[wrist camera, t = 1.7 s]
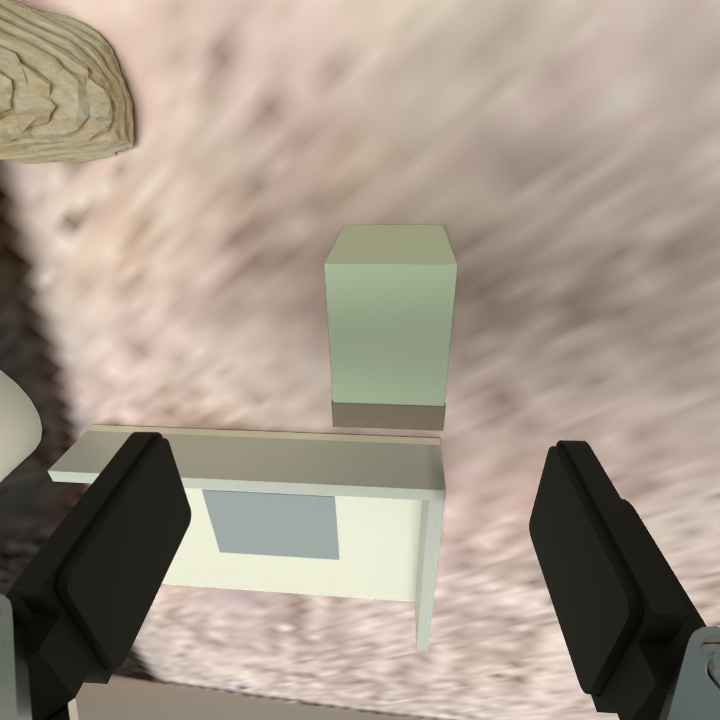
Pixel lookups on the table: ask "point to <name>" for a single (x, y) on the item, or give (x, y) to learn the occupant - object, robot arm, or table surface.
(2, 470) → the white knob
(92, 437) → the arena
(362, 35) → the table surface
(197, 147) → the table surface
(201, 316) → the table surface
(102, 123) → the fossil tooth
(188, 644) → the table surface
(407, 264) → the block
